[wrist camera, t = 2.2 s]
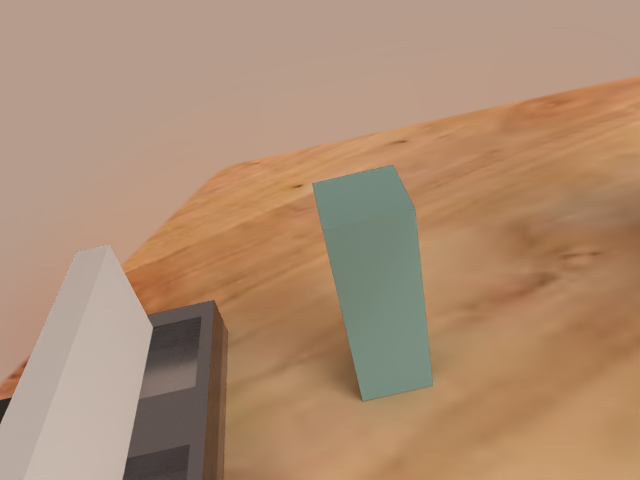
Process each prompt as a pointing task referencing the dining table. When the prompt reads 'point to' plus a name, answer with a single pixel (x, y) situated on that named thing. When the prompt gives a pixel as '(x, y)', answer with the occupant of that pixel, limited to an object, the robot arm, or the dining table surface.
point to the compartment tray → (181, 398)
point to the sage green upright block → (377, 278)
